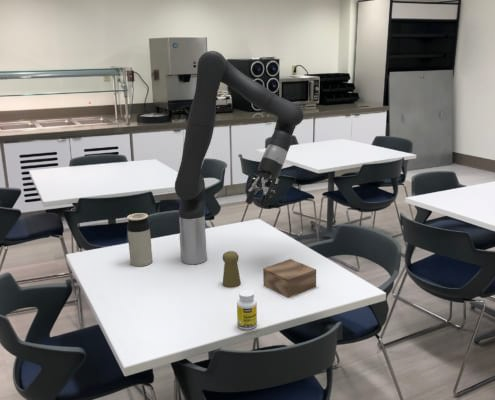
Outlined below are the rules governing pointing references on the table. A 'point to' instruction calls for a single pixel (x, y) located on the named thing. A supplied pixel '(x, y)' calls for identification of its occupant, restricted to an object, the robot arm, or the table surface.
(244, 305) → the supplement bottle
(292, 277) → the walnut riser
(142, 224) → the travel mug
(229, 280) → the cork
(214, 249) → the table surface
